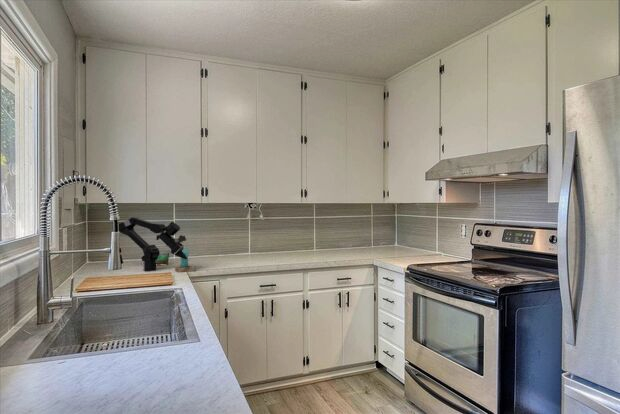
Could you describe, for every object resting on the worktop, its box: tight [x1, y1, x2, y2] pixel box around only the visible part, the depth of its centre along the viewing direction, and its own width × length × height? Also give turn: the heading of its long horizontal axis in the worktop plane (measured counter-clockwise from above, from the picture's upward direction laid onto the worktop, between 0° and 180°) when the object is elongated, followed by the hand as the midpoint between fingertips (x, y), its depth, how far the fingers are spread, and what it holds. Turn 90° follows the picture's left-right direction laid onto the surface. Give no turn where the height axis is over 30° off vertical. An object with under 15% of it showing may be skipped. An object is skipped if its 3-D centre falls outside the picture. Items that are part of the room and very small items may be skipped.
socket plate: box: [174, 265, 195, 273], centre depth 237 cm, size 9×9×2 cm
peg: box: [180, 249, 189, 268], centre depth 237 cm, size 4×4×13 cm
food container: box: [156, 249, 171, 265], centre depth 263 cm, size 12×6×10 cm, turn 105°
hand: (186, 257), depth 238 cm, fingers open, 9 cm apart
